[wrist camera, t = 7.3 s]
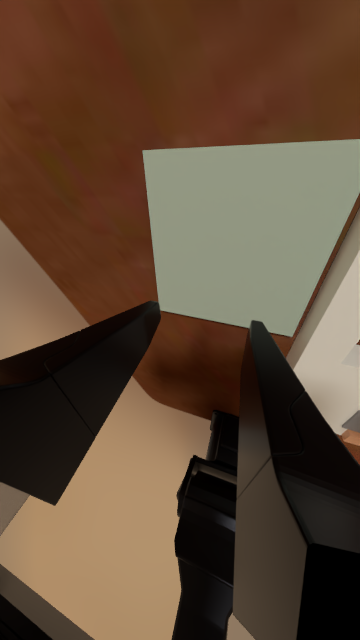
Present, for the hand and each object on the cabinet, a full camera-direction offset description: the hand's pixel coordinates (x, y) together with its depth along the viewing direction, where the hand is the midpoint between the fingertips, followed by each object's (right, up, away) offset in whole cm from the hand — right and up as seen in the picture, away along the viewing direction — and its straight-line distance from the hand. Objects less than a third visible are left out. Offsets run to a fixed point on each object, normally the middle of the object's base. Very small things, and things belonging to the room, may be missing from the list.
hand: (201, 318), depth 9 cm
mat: (+3, +5, +6) cm, 8 cm away
